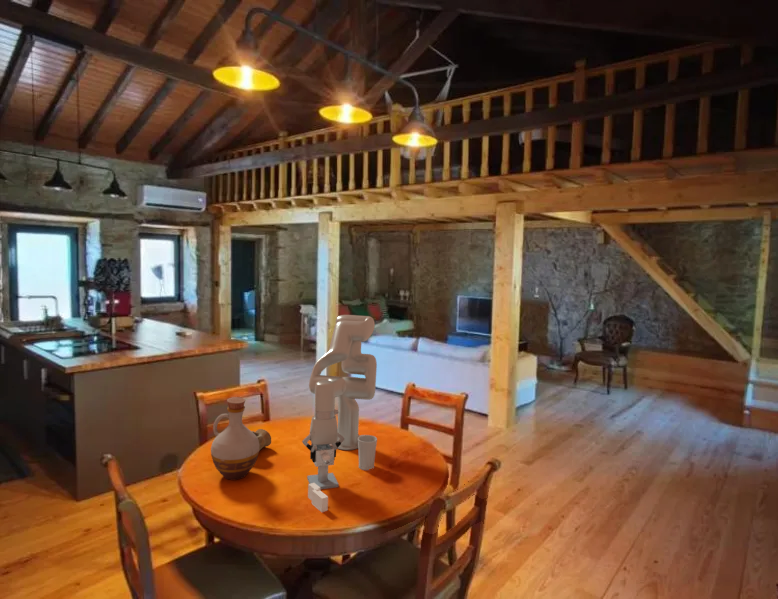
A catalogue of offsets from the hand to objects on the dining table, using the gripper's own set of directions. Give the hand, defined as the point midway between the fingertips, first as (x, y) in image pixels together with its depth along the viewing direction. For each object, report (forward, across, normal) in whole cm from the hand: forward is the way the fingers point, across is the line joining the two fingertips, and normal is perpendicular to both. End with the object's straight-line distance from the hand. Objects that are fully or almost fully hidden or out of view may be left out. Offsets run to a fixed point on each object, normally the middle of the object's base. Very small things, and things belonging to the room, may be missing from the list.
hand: (323, 459), depth 180 cm
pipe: (+9, +22, -34) cm, 42 cm away
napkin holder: (+10, +4, +14) cm, 18 cm away
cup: (+9, -20, -9) cm, 24 cm away
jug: (+9, +32, -15) cm, 37 cm away
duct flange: (+9, 0, 0) cm, 9 cm away
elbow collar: (+1, 0, +2) cm, 2 cm away
